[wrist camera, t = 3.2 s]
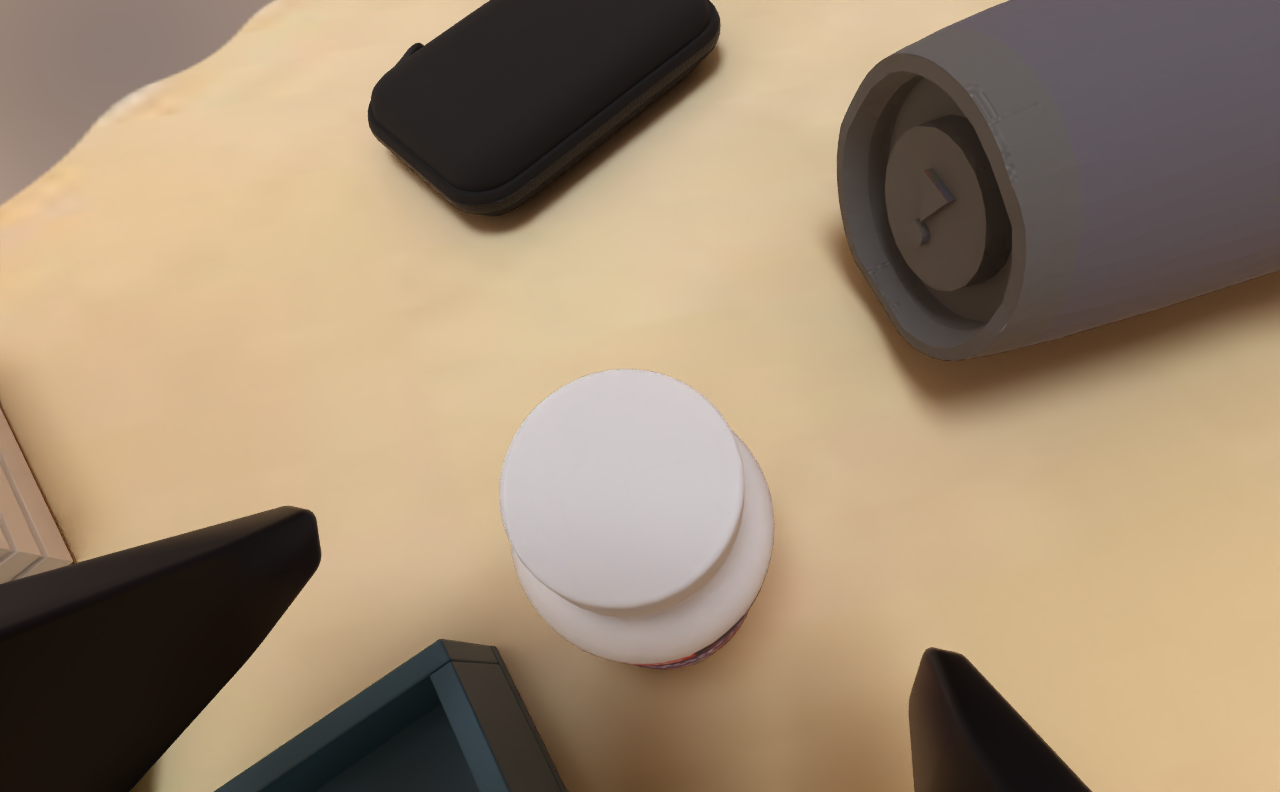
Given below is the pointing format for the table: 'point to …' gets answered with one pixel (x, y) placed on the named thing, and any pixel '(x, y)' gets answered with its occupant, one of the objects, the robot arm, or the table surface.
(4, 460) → the long white box
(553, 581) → the pill bottle
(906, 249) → the bluetooth speaker
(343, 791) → the tray
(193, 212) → the table surface
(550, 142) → the carrying case
